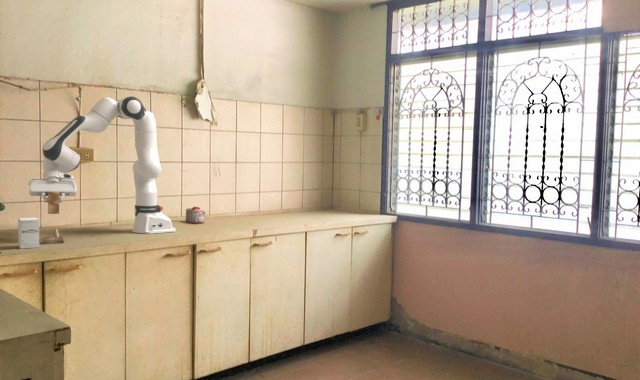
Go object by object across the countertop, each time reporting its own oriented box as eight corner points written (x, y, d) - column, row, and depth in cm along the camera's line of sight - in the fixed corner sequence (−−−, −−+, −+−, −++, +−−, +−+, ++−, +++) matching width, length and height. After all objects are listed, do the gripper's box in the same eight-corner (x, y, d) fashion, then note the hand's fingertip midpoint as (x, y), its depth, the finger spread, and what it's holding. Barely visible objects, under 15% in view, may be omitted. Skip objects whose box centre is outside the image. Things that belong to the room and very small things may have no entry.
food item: (207, 223, 319) (207, 207, 318) (195, 224, 313) (195, 208, 312) (194, 220, 328) (195, 205, 328) (183, 221, 323) (183, 205, 322)
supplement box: (20, 249, 227) (19, 219, 226) (18, 246, 233) (17, 217, 232) (39, 247, 231) (39, 219, 230) (36, 244, 237) (36, 216, 236)
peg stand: (62, 238, 255) (62, 228, 255) (63, 243, 243) (63, 233, 243) (29, 239, 249) (28, 229, 248) (28, 244, 236) (28, 234, 236)
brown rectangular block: (58, 211, 252) (58, 191, 252) (59, 213, 246) (59, 192, 245) (47, 212, 250) (48, 191, 250) (48, 213, 244) (48, 192, 243)
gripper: (28, 174, 248) (28, 197, 240) (76, 175, 258) (77, 197, 250) (28, 183, 252) (28, 205, 244) (75, 184, 262) (76, 205, 254)
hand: (53, 201), depth 247 cm, fingers closed on brown rectangular block, 4 cm apart
